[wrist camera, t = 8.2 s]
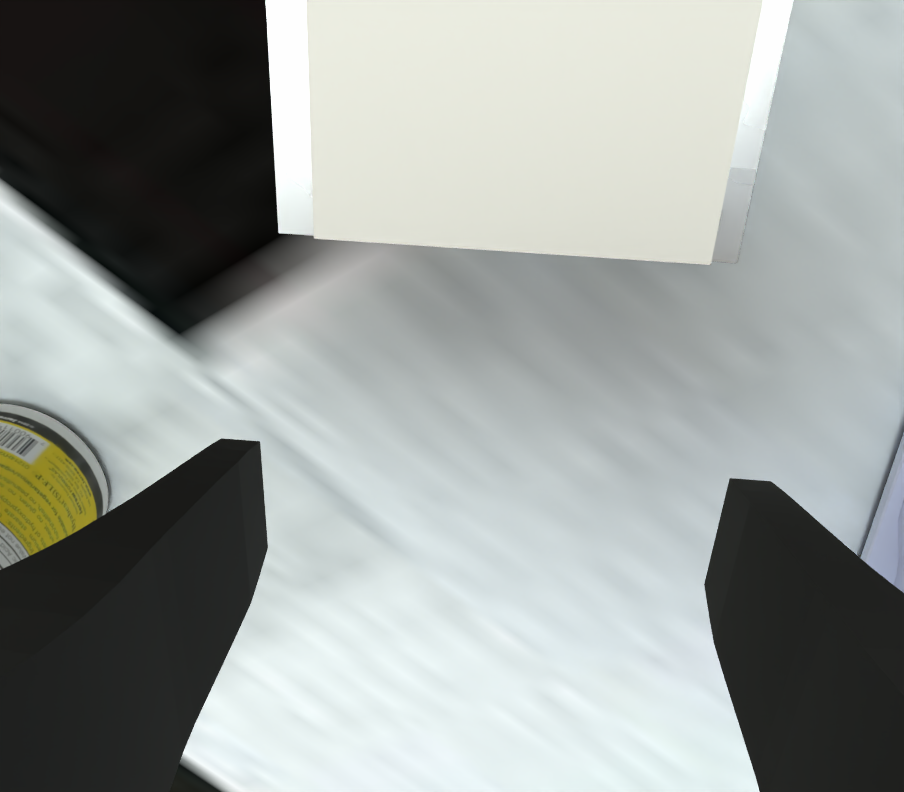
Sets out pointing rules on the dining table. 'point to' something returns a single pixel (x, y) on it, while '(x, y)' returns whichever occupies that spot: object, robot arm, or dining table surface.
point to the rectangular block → (527, 123)
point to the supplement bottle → (44, 483)
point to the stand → (296, 144)
